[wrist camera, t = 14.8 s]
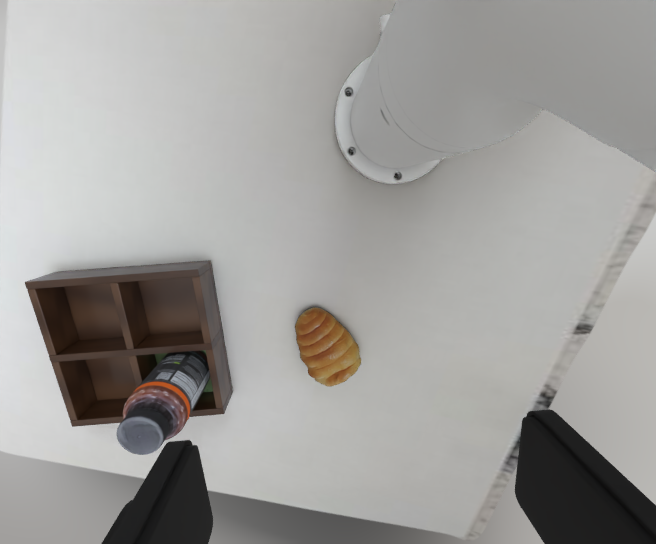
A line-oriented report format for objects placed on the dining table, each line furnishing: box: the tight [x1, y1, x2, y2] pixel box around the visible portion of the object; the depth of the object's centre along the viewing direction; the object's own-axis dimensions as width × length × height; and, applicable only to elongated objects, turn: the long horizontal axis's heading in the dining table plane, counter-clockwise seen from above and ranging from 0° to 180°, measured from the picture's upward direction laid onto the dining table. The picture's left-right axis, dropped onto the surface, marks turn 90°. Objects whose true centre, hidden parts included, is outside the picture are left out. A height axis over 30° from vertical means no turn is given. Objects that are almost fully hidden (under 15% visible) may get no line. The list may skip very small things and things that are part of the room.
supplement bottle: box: [117, 351, 210, 455], centre depth 33 cm, size 6×6×11 cm
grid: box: [25, 261, 233, 426], centre depth 36 cm, size 17×17×4 cm
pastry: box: [295, 307, 361, 386], centre depth 37 cm, size 9×7×4 cm
